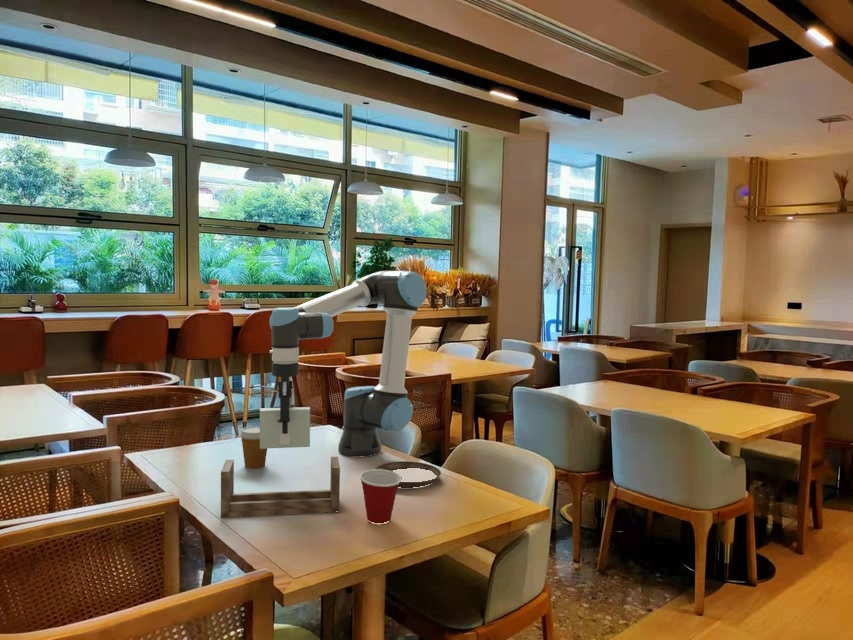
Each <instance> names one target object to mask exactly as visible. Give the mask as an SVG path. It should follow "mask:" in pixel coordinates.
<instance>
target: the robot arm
mask: <svg viewBox="0 0 853 640" xmlns="http://www.w3.org/2000/svg"><path fill="white" fill-rule="evenodd" d="M426 298H427V285H426V281H425V280H424V279H423V277H422V276H421V275H420V274H419V273H417V272H416V271H409V270H380V271H375V272H373V273H371V274H367V275H365V276H363V277H360V278H358V279H355V280H353V281H351V284H350V285H348V286H345V287H342V288H340V289H337V290H335V291H332V292H330V293H327V294H325V295H322V296H320V297H317V298H315V299H313V300H310V301H307V302H305V303H302V304H300V305H297V306H294V307H276V308H274V309H272V310H271V311H272V312H271V315H270V317H269V322H268V323H269V327H270V330H271V350H269V354H272V355H271V361H272V363H271V375H272V376H273V377H276V378H278V377H279V378H280V380H278V383H277V389H278V398H279V403H280V404H279V405H280V406H279V408H280V420H278V422H280V445H281V444H290V418H289V408H291V398H292V391H293V390H292V389H293V380H290V377H291V378H292V377H297V376H298V375H299V366H300V364H299V362H298V361H299V360H300V347H299V345H300V341H301V340H302V341H303V340H313V339H315V340H316V339H319V340H321V339H324V338H328V337H330V336H331V335H332V333H333V332H334V327H335V326H334V319H333V317H335V316H338V315H340V314H342V313H345V312H348V311H349V310H352V309H355V308H357V307H359V306H360V307H367V306H368V305H372V304H373V305H376V304H383V310H384V311H385V313H386V321H385V328H384V329H385V330H384V337H383V346H382V355H381V364H380V370H379V371H380V372H379V373H380V374H379V378H378V379H379V380H378V384H376V385H375V386H374V385H366V386H365V385H364V386H362V385H361V386H354V387H349V388H346V389H345V391H344V397H343V432H342V435H341V437H340V440H339V443H338V448H337V449H338V453H339V452H340V453H341V454H340V453H339V454H340V455H343V456H346V455H348V456H347V457H351V456H368V457H371V456H370V455H373V456H375V455H374V454H377V453H379V452H380V451H381V452H382V443H381V440H380V437H379V433H378V429H382V430H384V431H388V432H389V431H390V432H400V431H402V430H404V429H405V428H406V426H408V424H409V423H410V421H411V419H412V417H413V411H414V408H413V404H412V401H411V400H410V399H409V398H408V390H407V389H406V388H405V381H406V371H407V363H408V354H409V348H410V347H409V346H410V337H411V329H412V328H411V327H412V322H413V321H412V319H413V316H414V315H416V314H417V313H418V308H419V307H420V306H422V305H423V303H424V302H425V300H426ZM377 428H378V429H377ZM381 452H380V453H381ZM380 453H379V454H380ZM377 455H378V454H377Z"/></svg>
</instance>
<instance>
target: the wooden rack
mask: <svg viewBox="0 0 853 640" xmlns="http://www.w3.org/2000/svg"><path fill="white" fill-rule="evenodd" d="M234 461H235V460H234V459H226V460H225V462H224V463H223V466H222V469H221V471H220V518H239V517H240V518H241V517H242V518H243V517H245V518H246V517H263V516H265V517H266V515H268V516H284V515H285V516H286V515H287V516H288V515H308V514H309V515H310V513H311V514H324V513H323V512H333V513H337V512H336V511H339V512H340V490H341V489H340V488H341V487H340V484H341V483H340V481H341V478H340V477H341V466H340V460H339V456H330V488H329V489H324V490H323V489H319V490H316V489H315V490H300V491H299V490H298V491H297V490H295V491H290V490H289V491H270V492H269V491H268V492H247V493H245V492H244V493H241V492H240V493H239V492H238V493H235V491H234V490H235V489H234V487H235V485H234V484H235V481H234V480H235V479H234V478H235V477H234V476H235V470H234V467H235V462H234Z"/></svg>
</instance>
